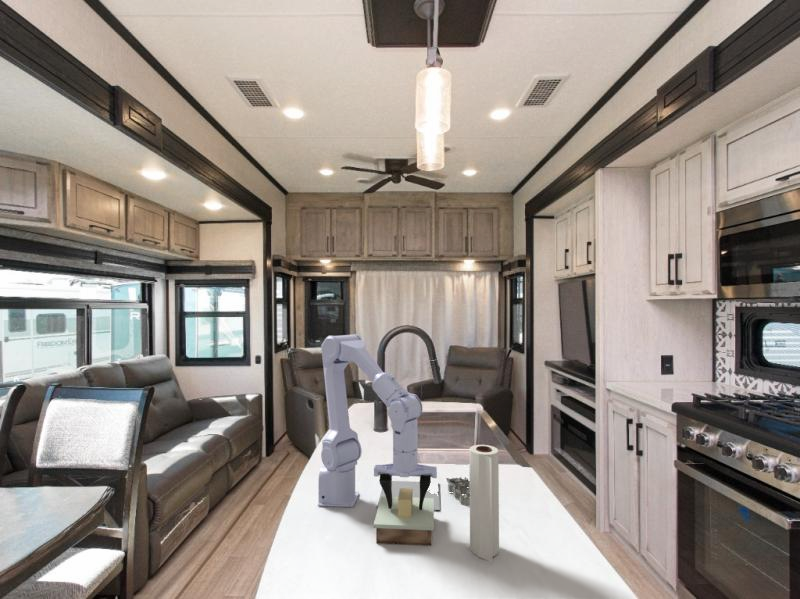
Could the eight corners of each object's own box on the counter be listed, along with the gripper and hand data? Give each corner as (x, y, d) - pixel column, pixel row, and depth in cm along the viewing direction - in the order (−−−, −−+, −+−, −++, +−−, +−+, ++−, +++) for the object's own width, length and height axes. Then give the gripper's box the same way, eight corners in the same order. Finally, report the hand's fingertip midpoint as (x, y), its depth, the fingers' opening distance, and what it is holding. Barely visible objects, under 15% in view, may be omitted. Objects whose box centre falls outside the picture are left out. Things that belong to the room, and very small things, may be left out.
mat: (376, 508, 104) (376, 507, 104) (384, 482, 120) (384, 480, 120) (439, 511, 103) (439, 509, 103) (438, 483, 119) (438, 482, 119)
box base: (376, 543, 89) (376, 526, 89) (383, 515, 101) (383, 500, 101) (431, 545, 88) (431, 529, 88) (431, 517, 100) (431, 502, 100)
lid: (373, 527, 88) (373, 506, 89) (381, 499, 101) (381, 481, 102) (433, 530, 87) (433, 508, 88) (433, 501, 100) (433, 482, 100)
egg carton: (487, 504, 107) (486, 488, 107) (460, 508, 105) (460, 492, 105) (468, 486, 117) (468, 472, 117) (444, 490, 115) (444, 475, 115)
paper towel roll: (475, 538, 91) (475, 441, 91) (502, 546, 88) (502, 446, 88) (463, 555, 84) (463, 451, 85) (492, 565, 81) (491, 457, 82)
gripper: (371, 453, 91) (371, 514, 91) (436, 455, 90) (437, 517, 90) (376, 443, 98) (376, 499, 98) (436, 444, 97) (436, 502, 97)
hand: (405, 507), depth 94 cm, fingers open, 6 cm apart
